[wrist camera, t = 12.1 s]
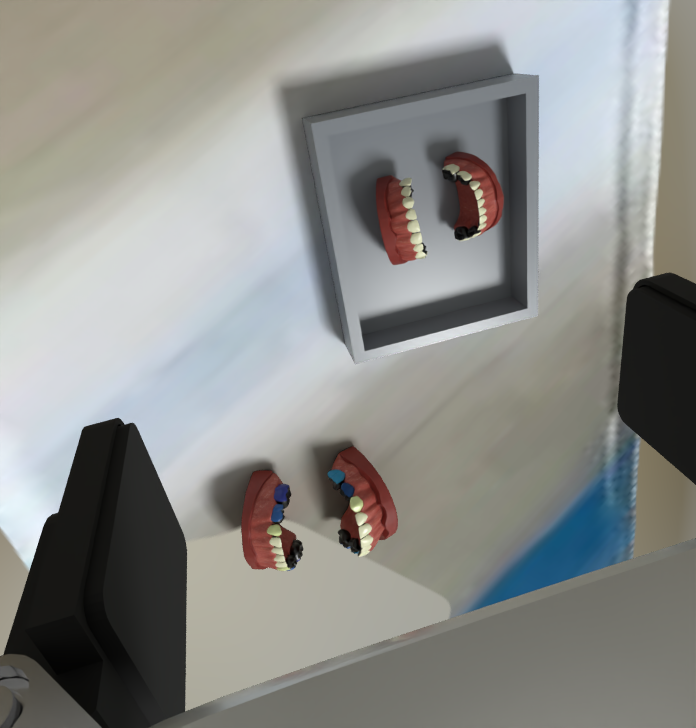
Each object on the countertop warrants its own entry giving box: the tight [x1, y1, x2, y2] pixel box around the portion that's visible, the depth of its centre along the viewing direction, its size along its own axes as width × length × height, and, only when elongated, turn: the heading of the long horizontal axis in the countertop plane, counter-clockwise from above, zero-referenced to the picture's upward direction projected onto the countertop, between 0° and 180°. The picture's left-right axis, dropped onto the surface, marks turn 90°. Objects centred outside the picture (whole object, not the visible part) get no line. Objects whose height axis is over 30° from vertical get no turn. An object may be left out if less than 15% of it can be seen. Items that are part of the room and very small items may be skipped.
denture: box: [376, 152, 504, 265], centre depth 36 cm, size 6×4×8 cm
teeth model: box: [241, 446, 398, 571], centre depth 46 cm, size 8×6×12 cm
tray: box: [302, 74, 539, 364], centre depth 38 cm, size 16×14×3 cm
